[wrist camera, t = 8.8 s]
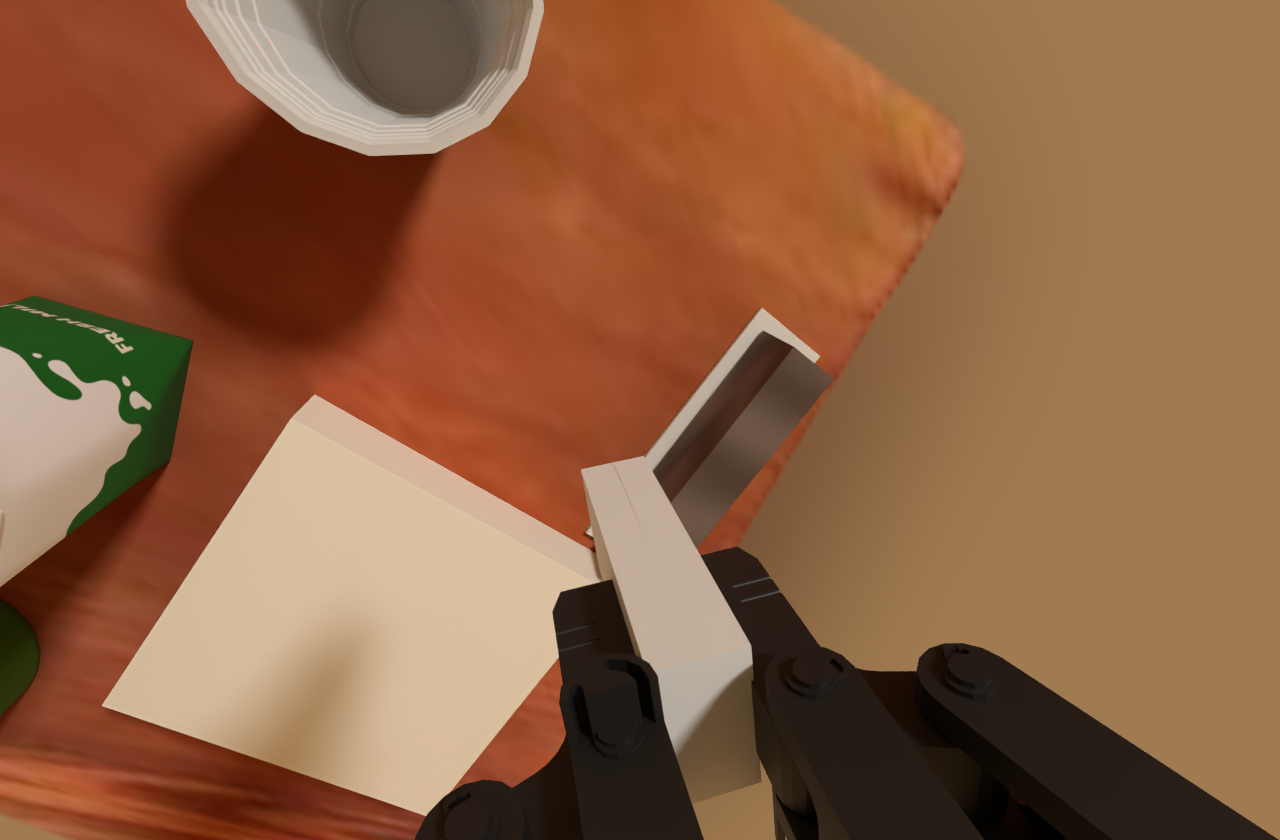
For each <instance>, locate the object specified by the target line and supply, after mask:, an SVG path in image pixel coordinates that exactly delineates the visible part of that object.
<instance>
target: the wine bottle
mask: <svg viewBox="0 0 1280 840" xmlns="http://www.w3.org/2000/svg"><path fill="white" fill-rule="evenodd" d="M39 658H40V649H39V645H38V641H37V637H36V635H35V633H34V632H33V630H32V629H31V627H30V625H29V624H28V622H27V621H26V620H25V619H24V618H23V617H22V616H21V615H20V614H19V613H18V612H16V611H15V610H14V609H13V608H12V607H11V606H9V605H8V604H6V603H4V602H2V601H1V600H0V716H1V715H2V714H3V713H4V712H5V711H6V710H7V709H8V708H9V707H10V706H11V705H12V704H13V703H14V702H15V701H16V700H17V699H18V698H19V697H20V696H21V695H22V694H23V693H24V692H25V691H26V690H27V689H28V687H29V685H30V683H31V681H32V680H33V678H34V676H35V674H36V672H37V669H38V666H39Z"/></svg>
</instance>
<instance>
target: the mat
mask: <svg viewBox="0 0 1280 840" xmlns="http://www.w3.org/2000/svg"><path fill="white" fill-rule="evenodd" d="M762 331H765V332H767V333H769V334H771V335H773V336H775V337H776V338H778V339H780V340H782V341H784V342H786V343H788V344H790V345H792V346H793V347H795V348H796V349H797V350H799V351H800V352H801V353H802V354H804V355H805V356H806V357H807V358H808V359H810V360H811V361H812V362H813V363H815V362H816V361H817V360H818V358H819V357H820V356H819V355H818V354H817V353H816V352H814V351H813V350H812V349H811V348H810V347H808V346H807V345H806V344H805V343H804V342H802V341H801V340H800V339H799V338H798V337H796V336H795V335H794V334H793V333H792V332H790V331H789V330H788V329H787V328H786V327H784V326H783V325H782V324H781V323H780V322H778V321H777V320H776V319H775V318H774V317H773V316H771V315H770V314H769V313H768V312H767V311H765V310H764V309H763V308H761V307H760V308H759V309H758V310H757V312H756V313H755V314H754V316H753V317H752V318H751V319H750V321H749V322H748V323H747V325H746V326H745V327H744V328H743V330H742V331H741V332H740V334H739V335H738V336H737V337H736V339H735V340H734V341H733V343H732V344H731V345H730V346H729V348H728V349H727V350H726V352H725V353H724V354H723V355H722V357H721V358H720V359H719V360H718V362H717V363H716V364H715V366H714V367H713V368H712V369H711V371H710V372H709V373H708V375H707V376H706V377H705V378H704V380H703V381H702V382H701V384H700V385H699V386H698V387H697V389H696V390H695V391H694V393H693V394H692V395H691V396H690V398H689V399H688V400H687V401H686V403H685V404H684V405H683V407H682V408H681V409H680V410H679V412H678V413H677V414H676V416H675V417H674V418H673V419H672V421H671V422H670V423H669V425H668V426H667V427H666V428H665V430H664V431H663V432H662V434H661V435H660V436H659V437H658V439H657V440H656V441H655V442H654V444H653V445H652V446H651V448H650V449H649V450H648V451H647V453H646V454H645V455H644V458H645V459H646V461H647V463H648V465H649V466H650V468H651V470H652V472H653V471H654V470H655V469H656V468H657V466H658V465H659V464H660V462H661V461H662V460H663V459H664V457H665V456H666V455H667V453H668V452H669V451H670V450H671V448H672V447H673V446H674V444H675V443H676V442H677V440H678V439H679V438H680V437H681V435H682V434H683V433H684V431H685V430H686V429H687V428H688V426H689V425H690V424H691V422H692V421H693V420H694V419H695V417H696V416H697V415H698V413H699V412H700V411H701V410H702V408H703V407H704V406H705V404H706V403H707V402H708V401H709V399H710V398H711V397H712V395H713V394H714V393H715V392H716V390H717V389H718V388H719V386H720V385H721V384H722V382H723V381H724V380H725V379H726V377H727V376H728V375H729V373H730V372H731V371H732V370H733V368H734V367H735V366H736V364H737V363H738V362H739V361H740V359H741V358H742V357H743V355H744V354H745V353H746V352H747V350H748V349H749V348H750V346H751V345H752V344H753V343H754V341H755V340H756V339H757V337H758V336H759V335H760V333H761V332H762ZM586 533H587V534H589V535H590V536H592V537H593V532H592V527H591V524H590V526H589V527H588V528H587V530H586Z"/></svg>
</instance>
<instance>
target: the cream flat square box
mask: <svg viewBox="0 0 1280 840" xmlns="http://www.w3.org/2000/svg"><path fill="white" fill-rule="evenodd" d="M599 582H603V580H602V576H601V573H600V569H599V565H598V559H597V554H596V553H595V552H593V551H591V550H589V549H588V548H586V547H584V546H582V545H580V544H579V543H577V542H575V541H573V540H572V539H570V538H568V537H566V536H565V535H563V534H561V533H559V532H557V531H556V530H554V529H552V528H550V527H549V526H547V525H545V524H543V523H541V522H540V521H538V520H536V519H534V518H533V517H531V516H529V515H527V514H526V513H524V512H522V511H520V510H518V509H517V508H515V507H513V506H511V505H510V504H508V503H506V502H504V501H503V500H501V499H499V498H497V497H495V496H494V495H492V494H490V493H488V492H487V491H485V490H483V489H481V488H480V487H478V486H476V485H474V484H472V483H471V482H469V481H467V480H465V479H464V478H462V477H460V476H458V475H457V474H455V473H453V472H451V471H449V470H448V469H446V468H444V467H442V466H441V465H439V464H437V463H435V462H434V461H432V460H430V459H428V458H426V457H425V456H423V455H421V454H419V453H418V452H416V451H414V450H412V449H411V448H409V447H407V446H405V445H403V444H402V443H400V442H398V441H396V440H395V439H393V438H391V437H389V436H387V435H386V434H384V433H382V432H380V431H379V430H377V429H375V428H373V427H372V426H370V425H368V424H366V423H364V422H363V421H361V420H359V419H357V418H356V417H354V416H352V415H350V414H349V413H347V412H345V411H343V410H341V409H340V408H338V407H336V406H334V405H333V404H331V403H329V402H327V401H326V400H324V399H322V398H320V397H318V396H317V395H314V396H313V397H312V398H311V399H310V400H309V401H308V402H307V403H306V404H305V405H304V406H303V407H302V408H301V409H300V410H299V411H298V412H297V413H296V414H295V415H294V416H293V417H292V418H291V419H290V421H289V422H288V424H287V425H286V427H285V428H284V430H283V431H282V433H281V434H280V436H279V437H278V439H277V440H276V442H275V443H274V445H273V446H272V448H271V450H270V451H269V453H268V454H267V456H266V457H265V459H264V460H263V462H262V463H261V465H260V466H259V468H258V469H257V471H256V472H255V474H254V475H253V477H252V478H251V480H250V481H249V483H248V484H247V486H246V487H245V489H244V491H243V492H242V494H241V495H240V497H239V498H238V500H237V501H236V503H235V504H234V506H233V507H232V509H231V510H230V512H229V513H228V515H227V516H226V518H225V519H224V521H223V522H222V524H221V525H220V527H219V528H218V530H217V532H216V533H215V535H214V536H213V538H212V539H211V541H210V542H209V544H208V545H207V547H206V548H205V550H204V551H203V553H202V554H201V556H200V557H199V559H198V560H197V562H196V563H195V565H194V566H193V568H192V569H191V571H190V573H189V574H188V576H187V577H186V579H185V580H184V582H183V583H182V585H181V586H180V588H179V589H178V591H177V592H176V594H175V595H174V597H173V598H172V600H171V601H170V603H169V604H168V606H167V607H166V609H165V610H164V612H163V614H162V615H161V617H160V618H159V620H158V621H157V623H156V624H155V626H154V627H153V629H152V630H151V632H150V633H149V635H148V636H147V638H146V639H145V641H144V642H143V644H142V645H141V647H140V648H139V650H138V651H137V653H136V655H135V656H134V658H133V659H132V661H131V662H130V664H129V665H128V667H127V668H126V670H125V671H124V673H123V674H122V676H121V677H120V679H119V680H118V682H117V683H116V685H115V686H114V688H113V689H112V691H111V692H110V694H109V696H108V697H107V699H106V700H105V702H104V703H103V705H102V706H103V707H106V708H109V709H112V710H115V711H118V712H121V713H124V714H127V715H130V716H133V717H136V718H139V719H142V720H145V721H148V722H150V723H153V724H156V725H159V726H162V727H165V728H168V729H171V730H174V731H177V732H180V733H183V734H186V735H189V736H192V737H195V738H198V739H201V740H204V741H207V742H210V743H212V744H215V745H218V746H221V747H224V748H227V749H230V750H233V751H236V752H239V753H242V754H245V755H248V756H251V757H254V758H257V759H260V760H263V761H266V762H269V763H271V764H274V765H277V766H280V767H283V768H286V769H289V770H292V771H295V772H298V773H301V774H304V775H307V776H310V777H313V778H316V779H319V780H322V781H325V782H328V783H331V784H333V785H336V786H339V787H342V788H345V789H348V790H351V791H354V792H357V793H360V794H363V795H366V796H369V797H372V798H375V799H378V800H381V801H384V802H387V803H390V804H393V805H395V806H398V807H401V808H404V809H407V810H410V811H413V812H416V813H419V814H422V815H425V816H427V814H428V813H429V812H430V811H431V809H432V808H433V807H434V806H435V805H436V804H437V803H438V802H439V801H440V800H441V799H442V798H443V797H444V796H446V795H447V794H449V793H450V791H451V790H452V789H453V788H454V786H455V785H456V784H457V783H458V782H459V780H460V779H461V778H462V777H463V775H464V774H465V773H466V772H467V770H468V769H469V768H470V767H471V765H472V764H473V763H474V762H475V760H476V759H477V758H478V757H479V755H480V754H481V753H482V752H483V750H484V749H485V748H486V747H487V745H488V744H489V743H490V742H491V741H492V739H493V738H494V737H495V736H496V734H497V733H498V732H499V731H500V729H501V728H502V727H503V726H504V724H505V723H506V722H507V721H508V719H509V718H510V717H511V716H512V714H513V713H514V712H515V711H516V709H517V708H518V707H519V706H520V705H521V703H522V702H523V701H524V700H525V698H526V697H527V696H528V695H529V693H530V692H531V691H532V690H533V688H534V687H535V686H536V685H537V683H538V682H539V681H540V680H541V678H542V677H543V676H544V675H545V673H546V672H547V671H548V670H549V668H550V667H551V666H552V665H553V664H554V662H555V661H556V660H557V659H558V657H559V654H558V648H557V641H556V634H555V627H554V621H553V614H552V611H553V609H554V606H555V604H556V602H557V599H558V597H559V594H560V592H562V591H566V590H570V589H574V588H578V587H582V586H586V585H591V584H595V583H599Z"/></svg>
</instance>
